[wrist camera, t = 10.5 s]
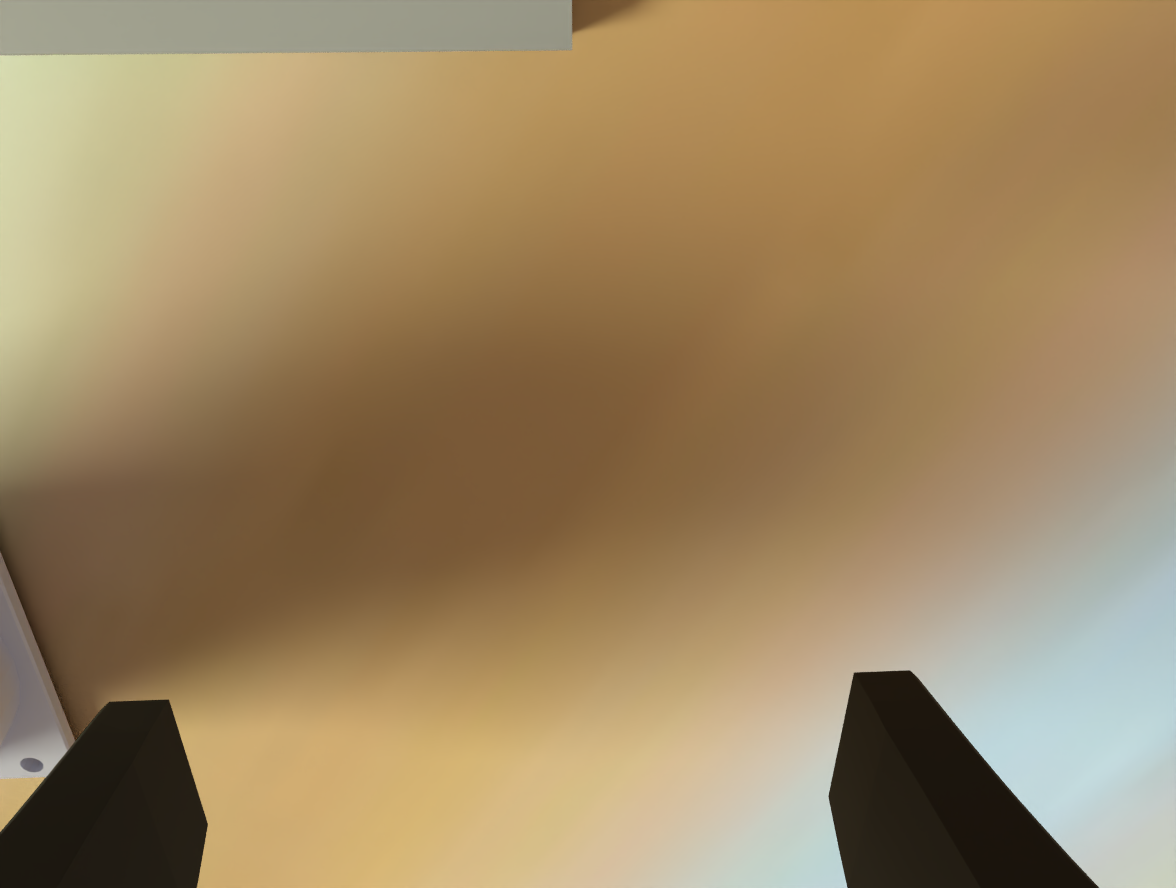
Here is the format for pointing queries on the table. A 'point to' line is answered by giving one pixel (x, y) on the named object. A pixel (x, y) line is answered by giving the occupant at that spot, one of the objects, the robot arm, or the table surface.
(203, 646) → the table surface
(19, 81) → the table surface
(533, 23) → the pin base
